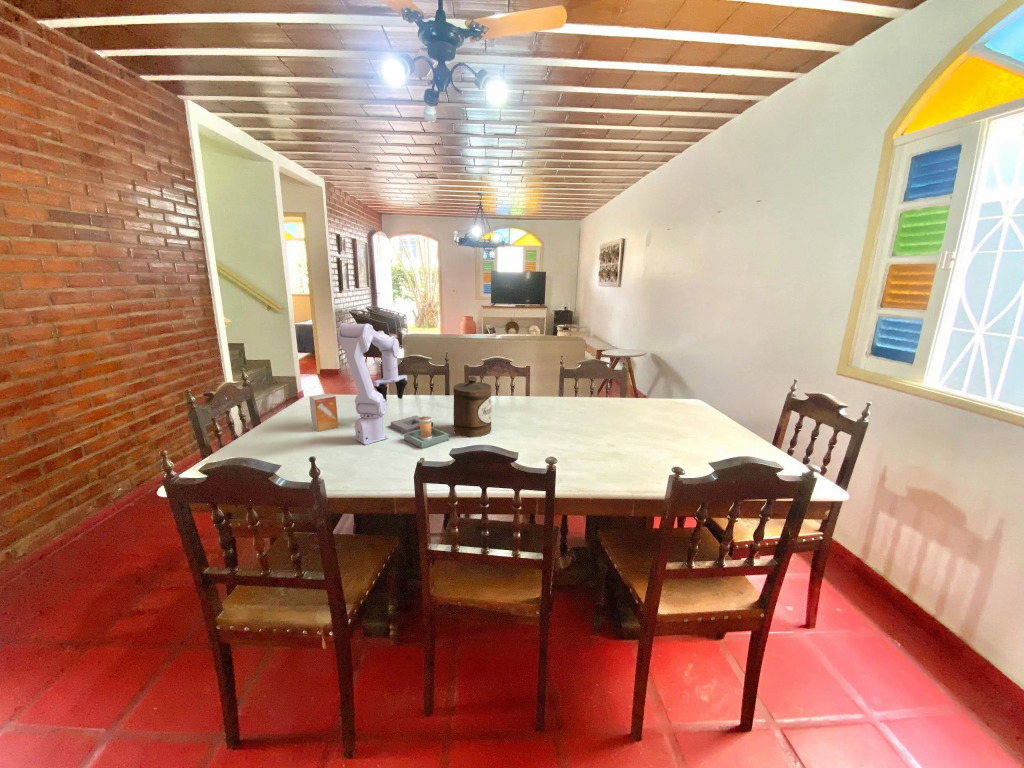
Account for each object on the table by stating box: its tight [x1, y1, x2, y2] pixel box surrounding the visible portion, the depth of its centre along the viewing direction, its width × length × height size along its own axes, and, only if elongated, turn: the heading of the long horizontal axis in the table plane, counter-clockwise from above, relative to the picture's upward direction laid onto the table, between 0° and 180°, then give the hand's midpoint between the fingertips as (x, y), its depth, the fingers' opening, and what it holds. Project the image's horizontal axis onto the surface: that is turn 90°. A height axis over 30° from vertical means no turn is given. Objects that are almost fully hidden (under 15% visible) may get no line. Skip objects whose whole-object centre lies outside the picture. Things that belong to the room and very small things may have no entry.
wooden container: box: [453, 375, 492, 438], centre depth 160 cm, size 15×15×22 cm
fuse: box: [420, 416, 432, 441], centre depth 151 cm, size 4×4×8 cm
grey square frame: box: [390, 415, 434, 434], centre depth 166 cm, size 12×12×2 cm
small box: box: [308, 392, 339, 433], centre depth 162 cm, size 8×6×13 cm
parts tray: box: [403, 426, 450, 450], centre depth 152 cm, size 12×12×2 cm
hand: (392, 400), depth 167 cm, fingers open, 7 cm apart
